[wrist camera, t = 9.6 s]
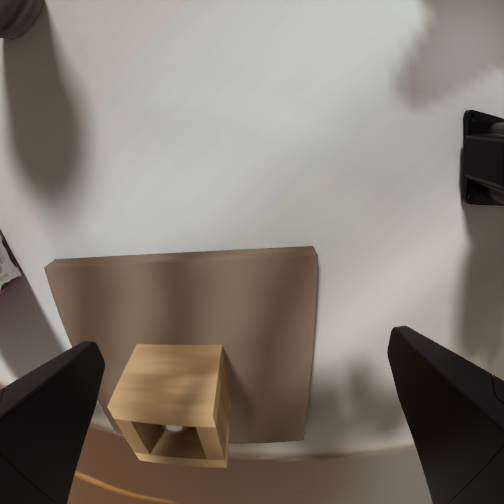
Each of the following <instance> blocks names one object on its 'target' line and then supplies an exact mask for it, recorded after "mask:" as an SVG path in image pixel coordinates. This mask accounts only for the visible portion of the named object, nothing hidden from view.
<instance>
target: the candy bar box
mask: <svg viewBox="0 0 504 504" xmlns="http://www.w3.org/2000/svg"><path fill="white" fill-rule="evenodd" d="M21 276H22V272H21V270H20V268H19V267H18V265H17V263H16V261H15V260H14V258H13V256H12V254H11V252H10V250H9V248H8V246H7V244H6V242H5V240H4V237H3V236H2V234H1V232H0V294H1V293H2V292H4V291H5V290H6V289H7V288H8V287H9V286H10V285H12V284H13V283H14V282H15V281H16V280H18V279H19V278H20V277H21Z"/></svg>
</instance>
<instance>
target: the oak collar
mask: <svg viewBox="0 0 504 504" xmlns="http://www.w3.org/2000/svg"><path fill="white" fill-rule="evenodd" d="M107 407H108V409H109V411H110V413H111V414H112V416H113V418H114V420H115V421H116V423H117V425H118V427H119V428H120V430H121V432H122V433H123V435H124V437H125V438H126V440H127V441H128V443H129V444H130V446H131V448H132V449H133V451H134V452H135V454H136V455H137V457H138V458H139V460H142V461H149V462H156V463H164V464H173V465H183V466H197V467H218V468H220V467H221V468H227V459H228V444H229V429H230V415H231V399H230V393H229V386H228V380H227V374H226V368H225V361H224V355H223V348H222V345H155V344H137V345H136V347H135V349H134V351H133V353H132V355H131V357H130V359H129V361H128V363H127V365H126V367H125V369H124V371H123V373H122V376H121V378H120V380H119V382H118V384H117V386H116V388H115V391H114V393H113V395H112V397H111V399H110V401H109V404H108V406H107ZM162 425H173V426H189V427H188V429H187V430H185V431H184V432H182V433H171V432H168V431H167V430H165V429H164V428H163V427H162Z"/></svg>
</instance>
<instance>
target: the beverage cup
mask: <svg viewBox="0 0 504 504" xmlns="http://www.w3.org/2000/svg"><path fill="white" fill-rule="evenodd" d="M43 3H44V0H0V38H7V39H14V38H17V37H19V36H20V35H22V34H23V33H25V32H26V31H27V30H28V29H29V28H30V27H31V26H32V24H33V23H34V21H35V20H36V19H37V17H38V15H39V13H40V11H41V9H42V6H43Z"/></svg>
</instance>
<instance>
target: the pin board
mask: <svg viewBox="0 0 504 504" xmlns="http://www.w3.org/2000/svg"><path fill="white" fill-rule="evenodd" d="M317 268H318V255H317V253H316V251H315V249H314V247H313V246H307V247H286V248H266V249H246V250H226V251H206V252H186V253H167V254H147V255H128V256H109V257H91V258H72V259H55V260H54V261H52V262H51V263H50V264H48V265H47V266H46V267H44V269H45V272H46V276H47V279H48V282H49V285H50V289H51V292H52V295H53V298H54V301H55V304H56V306H57V309H58V312H59V315H60V318H61V320H62V323H63V325H64V328H65V331H66V333H67V336H68V338H69V340H70V343H71V345H72V347H74V346H76V345H78V344H79V343H81V342H83V341H94V342H96V343H97V345H98V347H99V349H100V352H101V354H102V356H103V358H104V361H105V370H104V374H103V378H102V382H101V386H100V390H99V394H98V399H97V400H98V402H99V403H100V405H101V407H102V409H103V411H104V412H105V414H106V416H107V418H108V419H109V421H110V423H111V425H112V426H113V428H114V430H115V431H116V433H118V434H123V433H122V432H121V430H120V428H119V427H118V425H117V423H116V421H115V420H114V418H113V416H112V414H111V413H110V411H109V409H108V407H107V406H108V404H109V401H110V399H111V397H112V395H113V393H114V391H115V388H116V386H117V384H118V382H119V380H120V378H121V376H122V373H123V371H124V369H125V367H126V365H127V363H128V361H129V359H130V357H131V355H132V353H133V351H134V349H135V347H136V345H137V344H155V345H222V348H223V355H224V361H225V368H226V374H227V380H228V386H229V393H230V399H231V415H230V429H229V443H270V442H286V441H299V440H304V433H305V425H306V417H307V408H308V399H309V389H310V379H311V368H312V356H313V343H314V328H315V312H316V293H317ZM162 427H163V428H164V429H165V430H167V431H168V432H171V433H182V432H184V431H185V430H187V429H188V427H189V426H173V425H162Z"/></svg>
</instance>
